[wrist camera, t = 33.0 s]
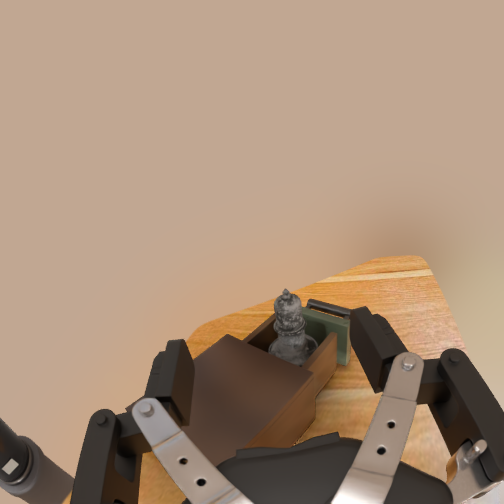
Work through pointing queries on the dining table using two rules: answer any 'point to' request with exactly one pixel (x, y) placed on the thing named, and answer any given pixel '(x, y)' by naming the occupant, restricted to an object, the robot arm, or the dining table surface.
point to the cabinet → (246, 400)
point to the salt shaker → (291, 331)
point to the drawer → (315, 338)
